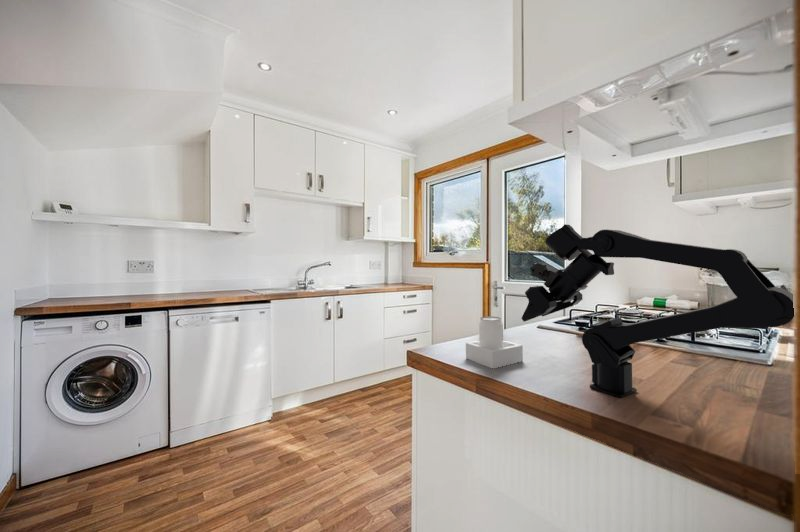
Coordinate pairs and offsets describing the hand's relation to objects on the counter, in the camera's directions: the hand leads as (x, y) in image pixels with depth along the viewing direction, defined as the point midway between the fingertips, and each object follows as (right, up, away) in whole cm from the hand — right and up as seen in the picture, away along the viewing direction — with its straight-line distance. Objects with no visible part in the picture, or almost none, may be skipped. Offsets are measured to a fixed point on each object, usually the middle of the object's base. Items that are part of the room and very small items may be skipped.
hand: (532, 317), depth 85 cm
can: (-8, -14, +8) cm, 18 cm away
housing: (-7, -13, +9) cm, 18 cm away
